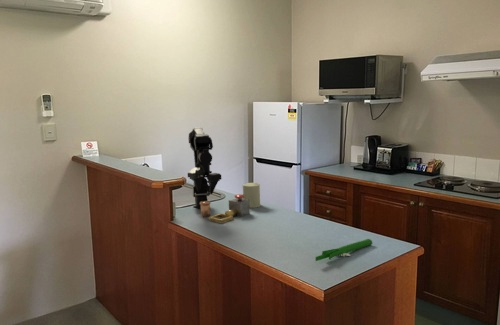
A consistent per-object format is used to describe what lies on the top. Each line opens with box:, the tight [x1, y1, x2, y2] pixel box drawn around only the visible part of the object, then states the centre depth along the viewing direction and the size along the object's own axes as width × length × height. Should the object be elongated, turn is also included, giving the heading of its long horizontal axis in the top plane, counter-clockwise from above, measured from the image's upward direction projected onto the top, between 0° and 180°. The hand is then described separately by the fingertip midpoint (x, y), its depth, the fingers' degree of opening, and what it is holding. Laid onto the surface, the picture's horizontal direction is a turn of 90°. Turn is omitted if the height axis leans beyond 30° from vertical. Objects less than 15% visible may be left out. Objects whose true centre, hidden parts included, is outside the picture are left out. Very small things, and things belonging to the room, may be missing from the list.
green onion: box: [315, 238, 373, 262], centre depth 144 cm, size 5×3×30 cm
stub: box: [200, 200, 212, 218], centre depth 199 cm, size 5×5×7 cm
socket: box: [208, 213, 234, 224], centre depth 192 cm, size 8×8×2 cm
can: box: [242, 182, 261, 209], centre depth 216 cm, size 9×9×12 cm
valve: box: [224, 193, 251, 218], centre depth 199 cm, size 8×12×9 cm
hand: (205, 192), depth 198 cm, fingers open, 9 cm apart
